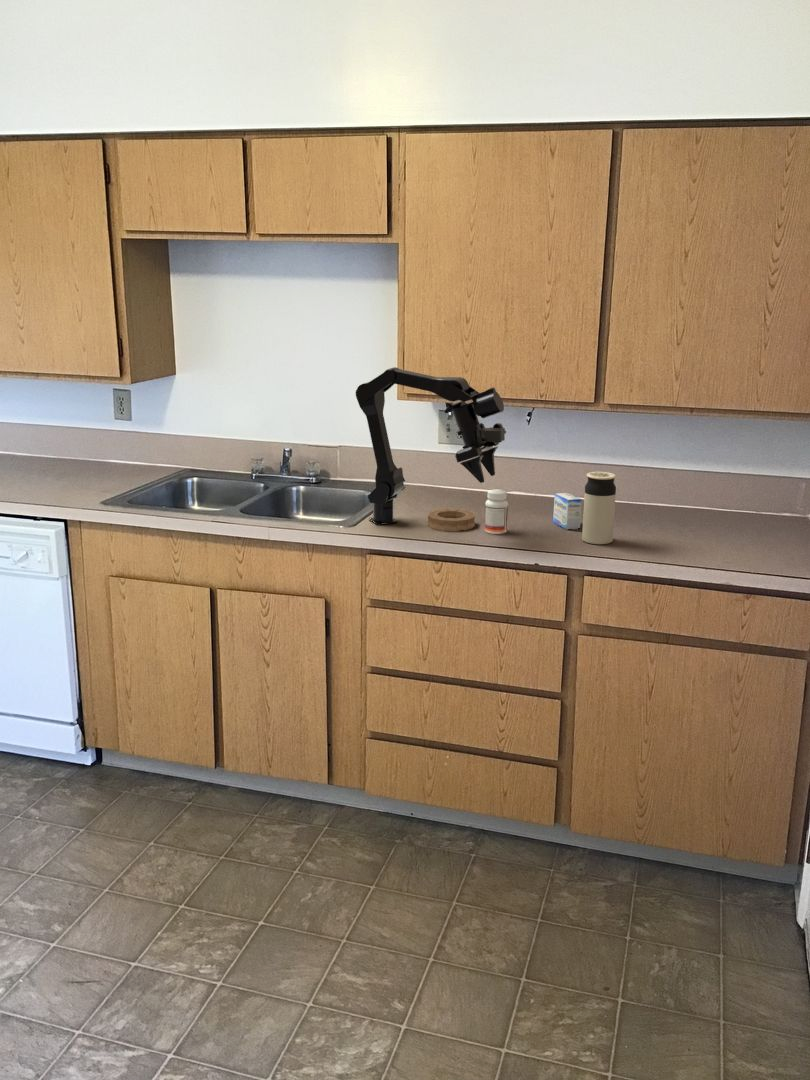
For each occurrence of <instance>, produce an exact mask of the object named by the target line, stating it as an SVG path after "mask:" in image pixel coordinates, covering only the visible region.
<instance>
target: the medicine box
mask: <svg viewBox="0 0 810 1080" xmlns="http://www.w3.org/2000/svg"><path fill="white" fill-rule="evenodd" d="M553 501H554V503H553V516H552V518H553V519H552V523H553V524H554V523H555V524H554V525H556V524H557V525H556V526H557V527H560V526H561V527H560V528H562V529H564V530H566V529H573V530H579V529H578V528H580V529H581V518H582V503H583V501H582V499H581V498H580V497H577V496H575V495H572V494H571V493H568V492H561V493H555V494H554V500H553Z"/></svg>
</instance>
